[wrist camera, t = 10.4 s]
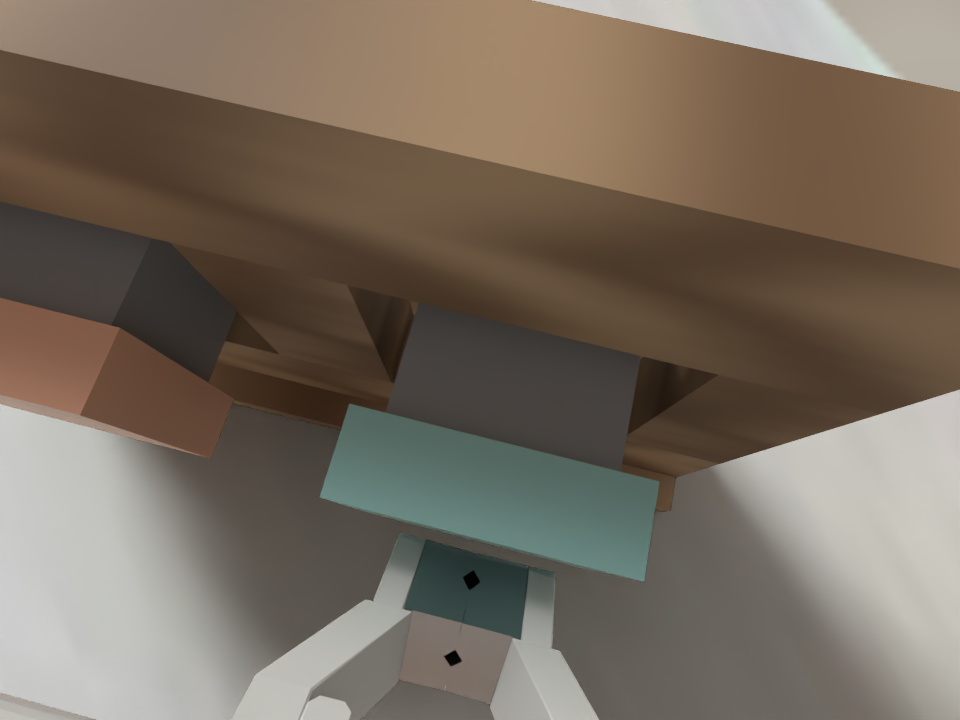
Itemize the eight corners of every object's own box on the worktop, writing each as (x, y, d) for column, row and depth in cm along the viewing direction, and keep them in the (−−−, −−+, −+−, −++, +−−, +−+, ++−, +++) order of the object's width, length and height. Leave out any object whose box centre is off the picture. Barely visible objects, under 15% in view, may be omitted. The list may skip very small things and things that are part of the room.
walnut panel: (684, 362, 20) (1145, -16, 6) (662, 511, 18) (1195, 428, 5) (120, 226, 21) (-504, -350, 7) (56, 358, 19) (-866, -60, 6)
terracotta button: (319, 176, 16) (258, 25, 12) (210, 458, 14) (79, 415, 9) (147, 136, 17) (20, -28, 12) (13, 407, 14) (-213, 340, 9)
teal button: (637, 260, 16) (712, 138, 11) (580, 567, 14) (643, 581, 9) (456, 218, 16) (453, 81, 11) (370, 513, 14) (319, 498, 9)
